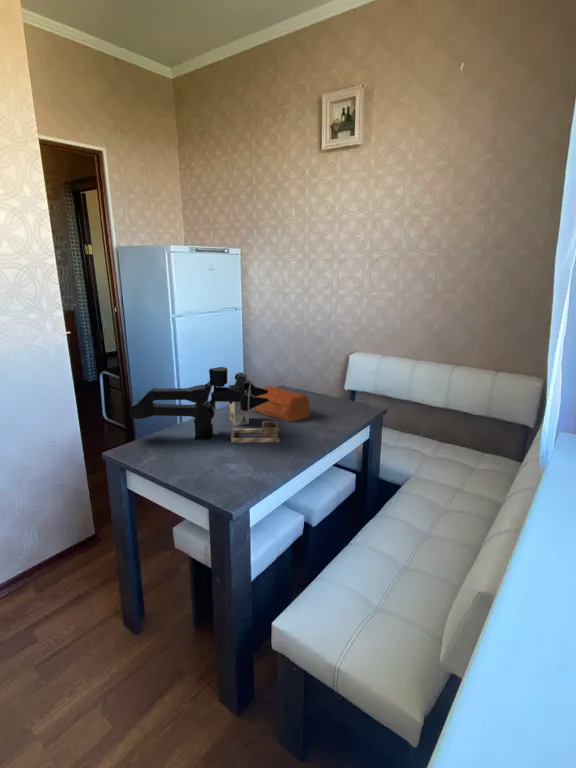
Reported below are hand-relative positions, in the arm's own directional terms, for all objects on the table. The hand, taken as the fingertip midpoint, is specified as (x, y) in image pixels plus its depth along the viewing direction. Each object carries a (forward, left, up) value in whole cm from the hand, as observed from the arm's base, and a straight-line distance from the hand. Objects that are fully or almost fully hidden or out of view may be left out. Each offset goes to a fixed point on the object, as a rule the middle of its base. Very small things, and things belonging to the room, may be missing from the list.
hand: (268, 395), depth 163 cm
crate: (+1, -3, -16) cm, 16 cm away
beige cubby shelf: (-4, -3, -17) cm, 17 cm away
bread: (+6, +26, -17) cm, 32 cm away
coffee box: (-12, +14, -17) cm, 25 cm away
